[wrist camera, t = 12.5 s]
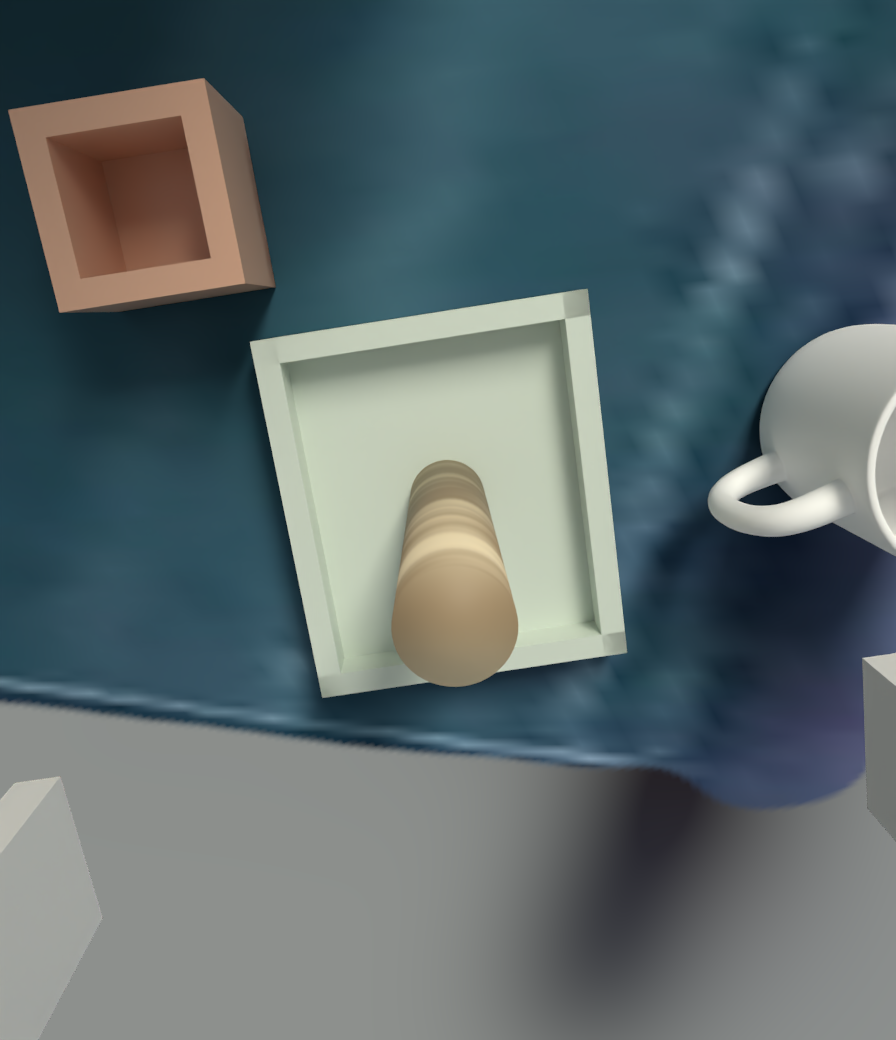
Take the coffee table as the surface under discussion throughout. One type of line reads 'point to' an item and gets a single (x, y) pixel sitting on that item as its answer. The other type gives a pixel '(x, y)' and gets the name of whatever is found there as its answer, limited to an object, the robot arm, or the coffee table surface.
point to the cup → (824, 442)
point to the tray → (434, 437)
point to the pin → (452, 582)
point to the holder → (143, 197)
